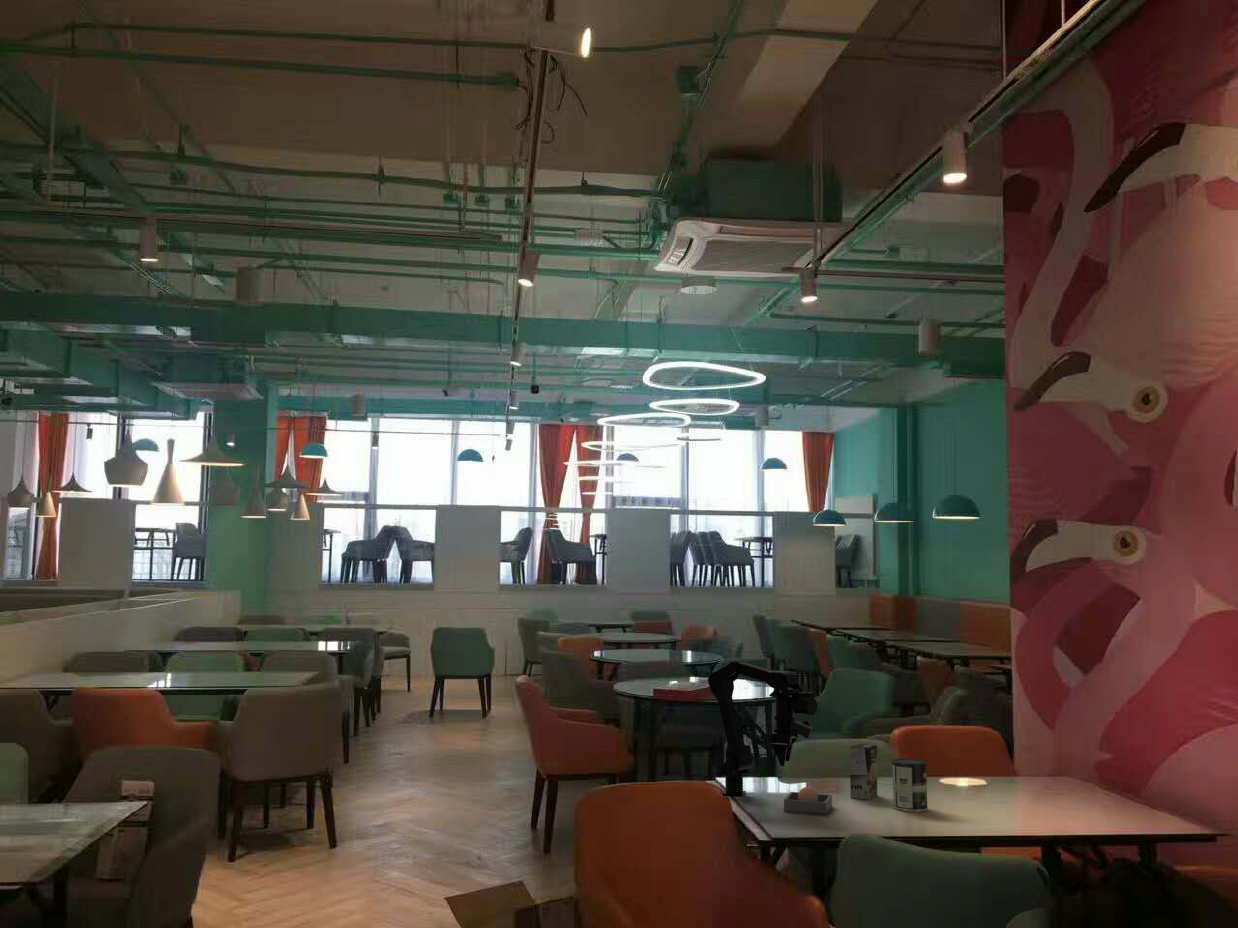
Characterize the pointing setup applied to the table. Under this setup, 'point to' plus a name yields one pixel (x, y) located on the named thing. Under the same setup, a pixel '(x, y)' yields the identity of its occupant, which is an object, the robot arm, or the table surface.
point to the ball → (808, 794)
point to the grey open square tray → (808, 804)
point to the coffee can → (909, 785)
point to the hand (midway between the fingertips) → (785, 763)
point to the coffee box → (863, 771)
